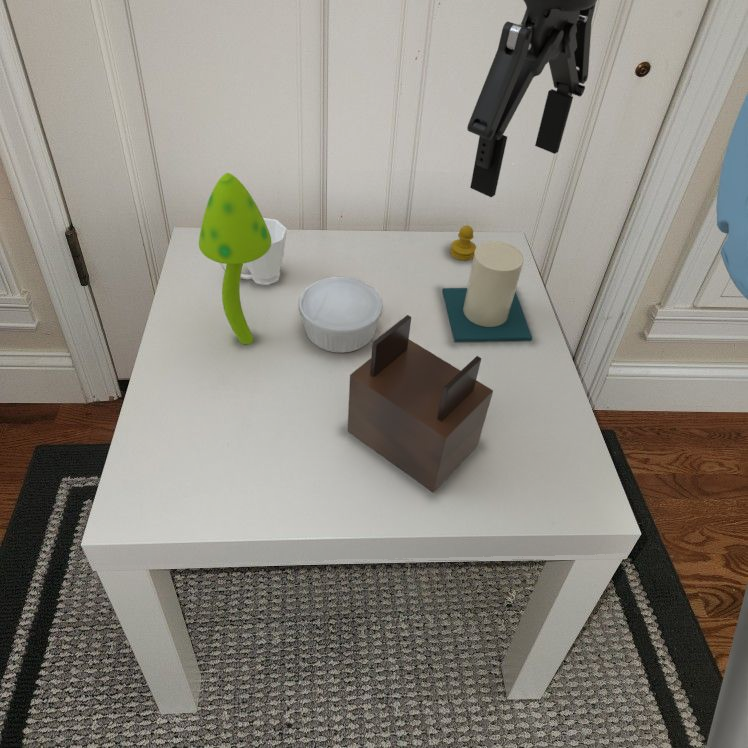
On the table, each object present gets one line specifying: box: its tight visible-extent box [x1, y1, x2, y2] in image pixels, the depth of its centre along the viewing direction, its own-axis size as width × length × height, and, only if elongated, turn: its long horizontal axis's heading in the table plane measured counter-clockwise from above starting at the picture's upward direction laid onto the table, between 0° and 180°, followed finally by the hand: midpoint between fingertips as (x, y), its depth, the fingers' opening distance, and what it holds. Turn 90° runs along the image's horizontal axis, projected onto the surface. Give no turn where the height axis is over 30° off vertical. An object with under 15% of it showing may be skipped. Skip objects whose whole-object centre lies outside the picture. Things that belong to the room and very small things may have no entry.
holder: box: [347, 314, 494, 493], centre depth 74 cm, size 13×9×15 cm
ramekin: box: [297, 276, 384, 354], centre depth 89 cm, size 11×11×5 cm
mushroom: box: [198, 172, 271, 345], centre depth 80 cm, size 8×8×25 cm
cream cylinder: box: [463, 240, 525, 327], centre depth 91 cm, size 7×7×10 cm
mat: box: [441, 287, 533, 343], centre depth 95 cm, size 11×11×1 cm
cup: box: [219, 217, 288, 286], centre depth 95 cm, size 7×10×8 cm
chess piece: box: [449, 225, 477, 262], centre depth 104 cm, size 4×4×5 cm
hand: (516, 169), depth 74 cm, fingers open, 13 cm apart
